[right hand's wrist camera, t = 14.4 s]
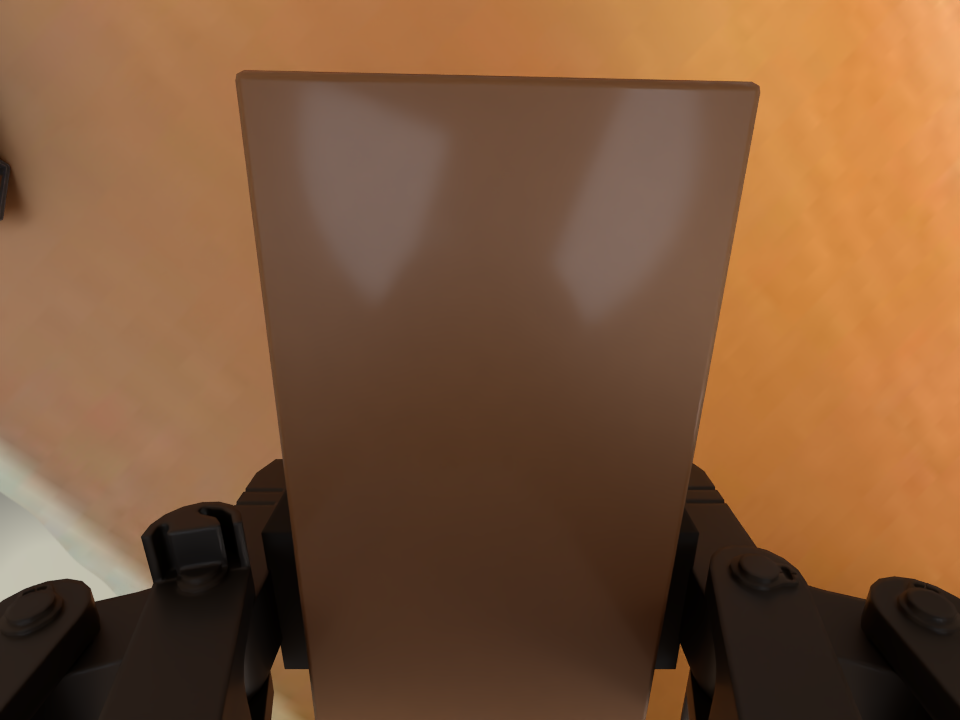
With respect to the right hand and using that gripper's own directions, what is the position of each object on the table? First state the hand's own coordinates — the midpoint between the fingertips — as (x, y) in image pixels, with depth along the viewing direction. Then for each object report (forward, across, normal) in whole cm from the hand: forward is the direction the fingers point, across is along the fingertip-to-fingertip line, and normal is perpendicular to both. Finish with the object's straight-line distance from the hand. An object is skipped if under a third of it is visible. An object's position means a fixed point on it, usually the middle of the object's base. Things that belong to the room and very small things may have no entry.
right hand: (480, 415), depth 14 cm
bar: (0, 0, -19) cm, 19 cm away
